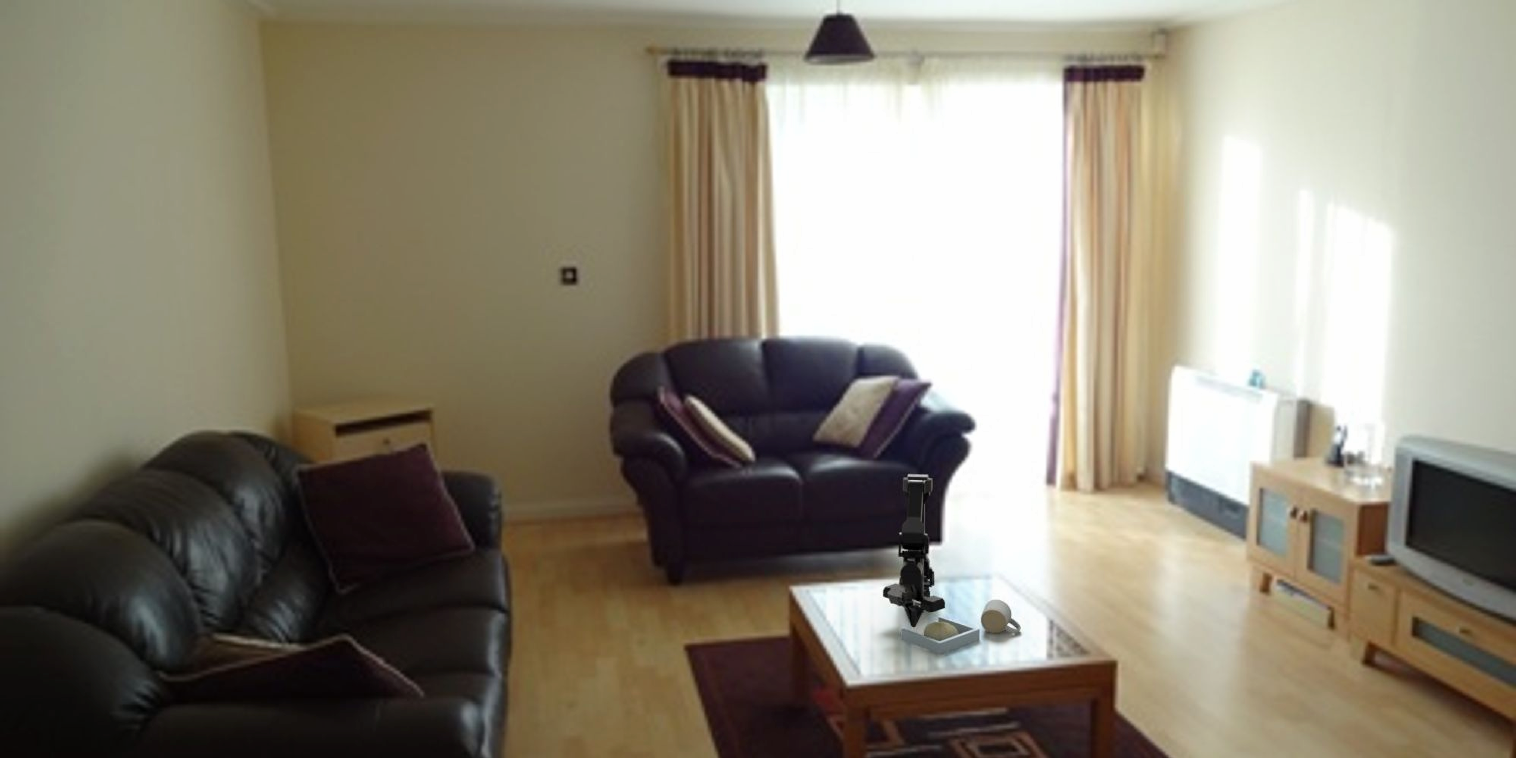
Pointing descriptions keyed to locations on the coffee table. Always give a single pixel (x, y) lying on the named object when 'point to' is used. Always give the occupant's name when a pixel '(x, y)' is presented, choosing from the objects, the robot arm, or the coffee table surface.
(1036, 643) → the coffee table surface
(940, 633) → the sea urchin shell
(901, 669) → the coffee table surface
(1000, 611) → the ceramic mug
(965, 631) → the corral
